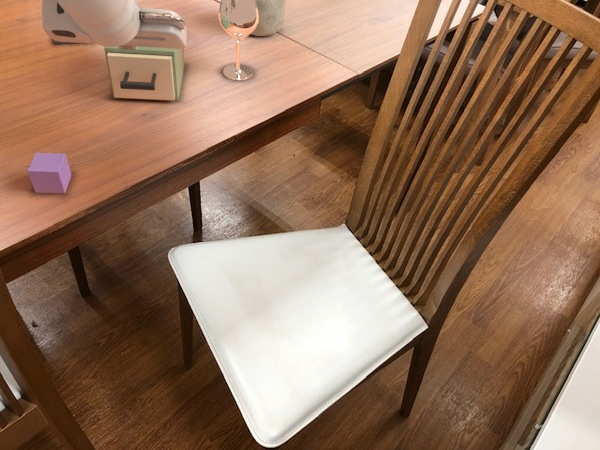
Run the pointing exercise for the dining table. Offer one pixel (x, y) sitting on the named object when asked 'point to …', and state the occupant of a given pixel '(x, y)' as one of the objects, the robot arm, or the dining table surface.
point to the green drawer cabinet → (175, 54)
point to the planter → (269, 17)
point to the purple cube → (49, 173)
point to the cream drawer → (141, 76)
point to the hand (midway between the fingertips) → (128, 44)
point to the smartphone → (65, 42)
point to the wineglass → (238, 30)
